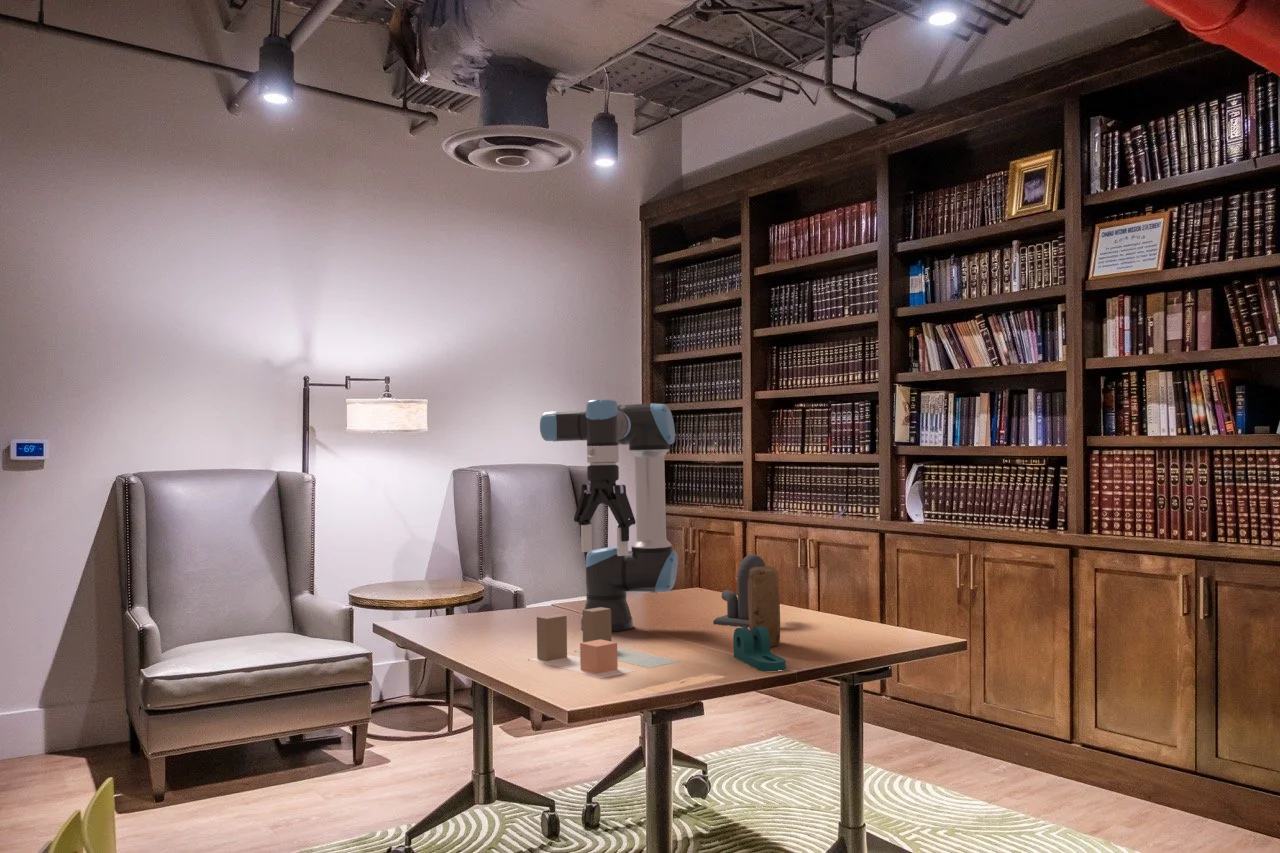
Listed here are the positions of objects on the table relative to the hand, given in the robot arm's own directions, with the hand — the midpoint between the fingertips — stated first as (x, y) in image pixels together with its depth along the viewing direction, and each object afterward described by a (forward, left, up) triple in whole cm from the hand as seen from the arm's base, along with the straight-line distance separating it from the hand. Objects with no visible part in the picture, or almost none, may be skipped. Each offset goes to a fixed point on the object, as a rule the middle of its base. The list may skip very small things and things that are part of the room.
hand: (604, 553), depth 229 cm
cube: (+6, -7, -25) cm, 27 cm away
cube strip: (-1, -7, -27) cm, 28 cm away
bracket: (+24, +28, -27) cm, 46 cm away
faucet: (-15, +68, -27) cm, 75 cm away
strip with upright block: (-1, +7, -27) cm, 28 cm away
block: (+9, +46, -27) cm, 54 cm away
